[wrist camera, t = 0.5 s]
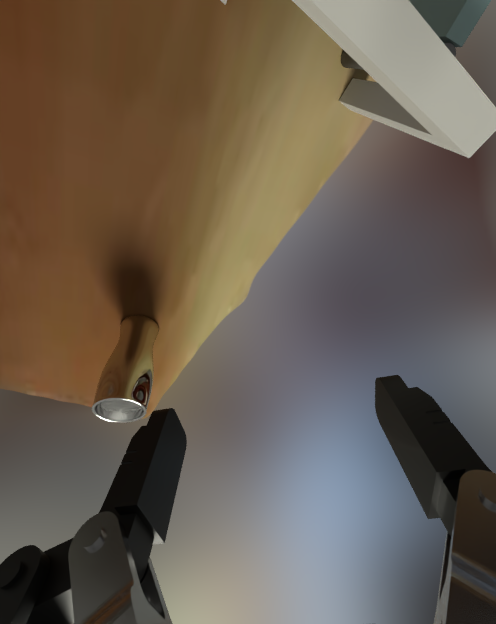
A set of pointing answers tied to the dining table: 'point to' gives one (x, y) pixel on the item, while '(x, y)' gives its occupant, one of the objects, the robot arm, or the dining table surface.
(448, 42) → the door
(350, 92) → the door frame
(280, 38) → the dining table surface
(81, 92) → the dining table surface
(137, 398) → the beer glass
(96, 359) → the dining table surface
